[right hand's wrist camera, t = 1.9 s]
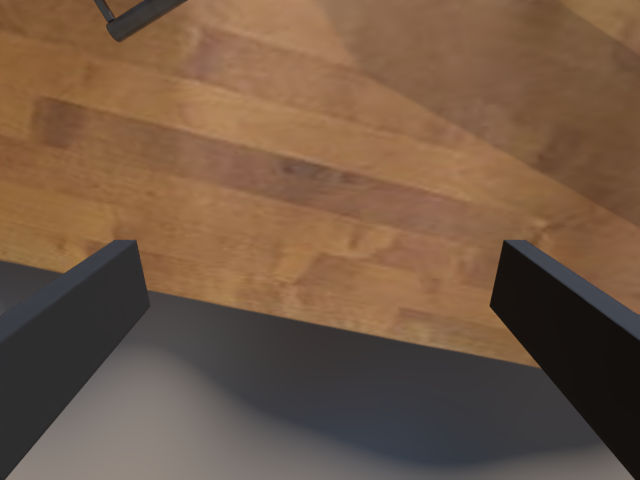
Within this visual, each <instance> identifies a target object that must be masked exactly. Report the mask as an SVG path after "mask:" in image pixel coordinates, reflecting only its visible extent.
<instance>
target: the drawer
mask: <svg viewBox="0 0 640 480" xmlns="http://www.w3.org/2000/svg"><path fill="white" fill-rule="evenodd" d="M94 1H95V3H96V4H97V6H98V8H99V9H100V11H101V12H102V14H103V16H104V17H105V19H106V21H107V22H108V24H107V25H106V27H107V30H108V32H109V33H110V35H111V36H112V37H113V38H114V39H115V40H116V41H118V42H122V41H123V40H125V39H127V38H128V37H130V36H131V35H133V34H135V33H136V32H138V31H139V30H141V29H143V28H144V27H146V26H147V25H149V24H151V23H152V22H154V21H155V20H157V19H159V18H160V17H162V16H163V15H165V14H167V13H168V12H170V11H171V10H173V9H175V8H176V7H178V6H179V5H181V4H182V3H184V2H186V1H187V0H144V1H142V2H141V3H139V4H138V5H136V6H134V7H133V8H131V9H130V10H128V11H127V12H125V13H124V14H122V15H120V16H119V17H117V18H115V17H114V15H113V13H112V12H111V10H110V8H109V7H108V5H107V3H106V2H105V0H94Z"/></svg>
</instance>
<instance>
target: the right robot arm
mask: <svg viewBox="0 0 640 480" xmlns="http://www.w3.org/2000/svg"><path fill="white" fill-rule="evenodd" d="M149 307H150V302H149V297H148V293H147V288H146V283H145V279H144V274H143V269H142V265H141V260H140V255H139V251H138V246H137V241H136V240H114V241H112V242H111V243H109V244H108V245H106V246H105V247H103V248H102V249H100V250H99V251H97V252H96V253H94V254H93V255H91V256H90V257H88V258H87V259H85V260H84V261H82V262H81V263H79V264H78V265H76V266H75V267H73V268H72V269H70V270H69V271H67V272H66V273H64V274H63V275H61V276H60V277H58V278H57V279H55V280H54V281H52V282H51V283H49V284H48V285H46V286H45V287H43V288H42V289H40V290H39V291H37V292H36V293H34V294H33V295H31V296H30V297H28V298H27V299H25V300H24V301H22V302H20V303H19V304H17V305H16V306H14V307H13V308H11V309H10V310H8V311H7V312H5V313H4V314H2V315H1V316H0V480H5V479H6V478H7V477H8V475H9V474H10V473H11V472H12V471H13V469H14V468H15V467H16V466H17V465H18V463H19V462H20V461H21V460H22V459H23V458H24V456H25V455H26V454H27V453H28V452H29V450H30V449H31V448H32V447H33V446H34V444H35V443H36V442H37V441H38V440H39V438H40V437H41V436H42V435H43V434H44V432H45V431H46V430H47V429H48V428H49V426H50V425H51V424H52V423H53V422H54V421H55V419H56V418H57V417H58V416H59V415H60V413H61V412H62V411H63V410H64V409H65V407H66V406H67V405H68V404H69V403H70V401H71V400H72V399H73V398H74V397H75V395H76V394H77V393H78V392H79V391H80V389H81V388H82V387H83V386H84V385H85V384H86V382H87V381H88V380H89V379H90V378H91V376H92V375H93V374H94V373H95V372H96V370H97V369H98V368H99V367H100V366H101V364H102V363H103V362H104V361H105V360H106V359H107V357H108V356H109V355H110V354H111V353H112V351H113V350H114V349H115V348H116V347H117V345H118V344H119V343H120V342H121V341H122V339H123V338H124V337H125V336H126V335H127V333H128V332H129V331H130V330H131V329H132V328H133V326H134V325H135V324H136V323H137V322H138V320H139V319H140V318H141V317H142V316H143V314H144V313H145V312H146V311H147V310H148V308H149ZM490 307H491V308H492V310H493V311H494V312H495V313H496V314H497V316H498V317H499V318H500V319H501V320H502V322H503V323H504V324H505V325H506V326H507V328H508V329H509V330H510V331H511V332H512V334H513V335H514V336H515V337H516V338H517V339H518V341H519V342H520V343H521V344H522V345H523V347H524V348H525V349H526V350H527V351H528V353H529V354H530V355H531V356H532V357H533V359H534V360H535V361H536V362H537V363H538V365H539V366H540V367H541V368H542V369H543V370H544V372H545V373H546V374H547V375H548V376H549V378H550V379H551V380H552V381H553V382H554V384H555V385H556V386H557V387H558V388H559V390H560V391H561V392H562V393H563V394H564V395H565V397H566V398H567V399H568V400H569V401H570V403H571V404H572V405H573V406H574V407H575V409H576V410H577V411H578V412H579V413H580V415H581V416H582V417H583V418H584V419H585V421H586V422H587V423H588V424H589V425H590V427H591V428H592V429H593V430H594V431H595V432H596V434H597V435H598V436H599V437H600V438H601V440H602V441H603V442H604V443H605V444H606V446H607V447H608V448H609V449H610V450H611V452H612V453H613V454H614V455H615V456H616V458H617V459H618V460H619V461H620V462H621V464H622V465H623V466H624V467H625V468H626V469H627V471H628V472H629V473H630V474H631V475H632V477H633V478H634V479H635V480H640V315H639V314H637V313H635V312H633V311H632V310H630V309H629V308H627V307H626V306H624V305H623V304H621V303H620V302H618V301H617V300H615V299H613V298H612V297H610V296H609V295H607V294H606V293H604V292H603V291H601V290H600V289H598V288H597V287H595V286H594V285H592V284H591V283H589V282H588V281H586V280H585V279H583V278H582V277H580V276H579V275H577V274H576V273H574V272H573V271H571V270H570V269H568V268H567V267H565V266H564V265H562V264H561V263H559V262H558V261H556V260H555V259H553V258H552V257H550V256H549V255H547V254H546V253H544V252H543V251H541V250H540V249H538V248H537V247H535V246H534V245H532V244H531V243H529V242H528V241H526V240H504V241H503V246H502V251H501V255H500V260H499V265H498V269H497V274H496V279H495V283H494V288H493V293H492V297H491V302H490Z"/></svg>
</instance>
